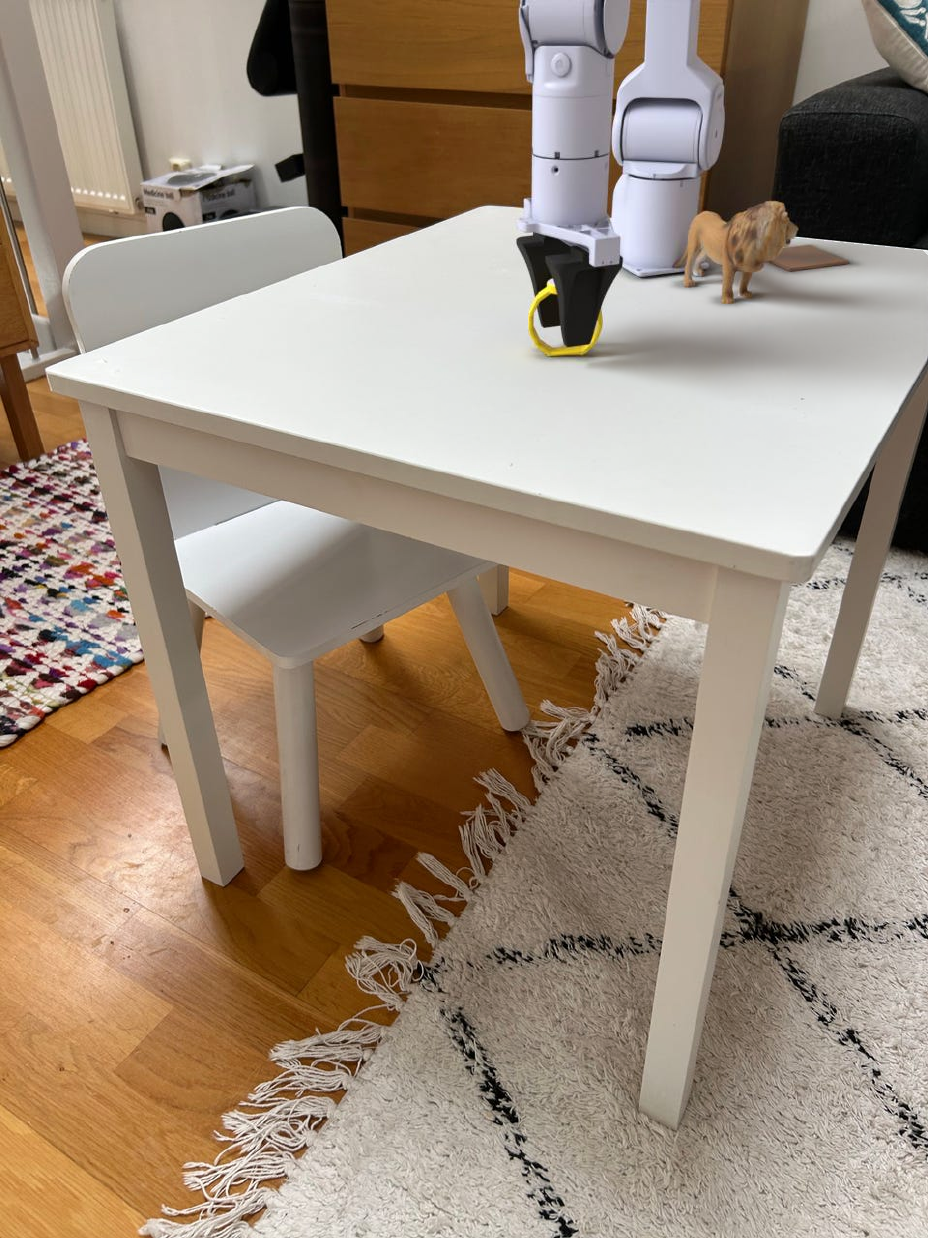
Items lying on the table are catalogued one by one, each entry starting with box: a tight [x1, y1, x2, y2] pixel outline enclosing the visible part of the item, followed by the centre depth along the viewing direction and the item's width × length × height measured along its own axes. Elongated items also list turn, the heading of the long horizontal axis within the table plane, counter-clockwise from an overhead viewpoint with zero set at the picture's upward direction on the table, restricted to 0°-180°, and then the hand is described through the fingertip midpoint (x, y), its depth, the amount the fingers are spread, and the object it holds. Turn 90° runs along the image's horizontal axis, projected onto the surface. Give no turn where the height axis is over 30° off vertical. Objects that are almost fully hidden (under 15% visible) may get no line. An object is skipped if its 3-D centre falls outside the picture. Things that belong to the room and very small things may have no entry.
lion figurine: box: [672, 200, 799, 305], centre depth 90 cm, size 15×5×9 cm, turn 31°
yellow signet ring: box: [527, 279, 604, 357], centre depth 78 cm, size 6×3×6 cm, turn 83°
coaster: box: [767, 244, 850, 272], centre depth 100 cm, size 7×7×1 cm
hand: (565, 334), depth 79 cm, fingers open, 4 cm apart
